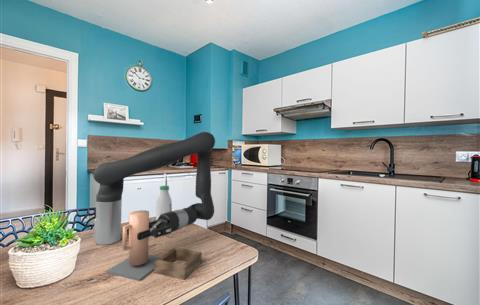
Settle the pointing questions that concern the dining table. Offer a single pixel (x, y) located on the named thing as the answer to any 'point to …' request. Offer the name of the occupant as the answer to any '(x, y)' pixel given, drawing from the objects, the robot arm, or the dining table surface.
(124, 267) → the charcoal mat
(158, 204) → the milk bottle
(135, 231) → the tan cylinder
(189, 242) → the dining table surface
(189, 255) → the walnut collar
